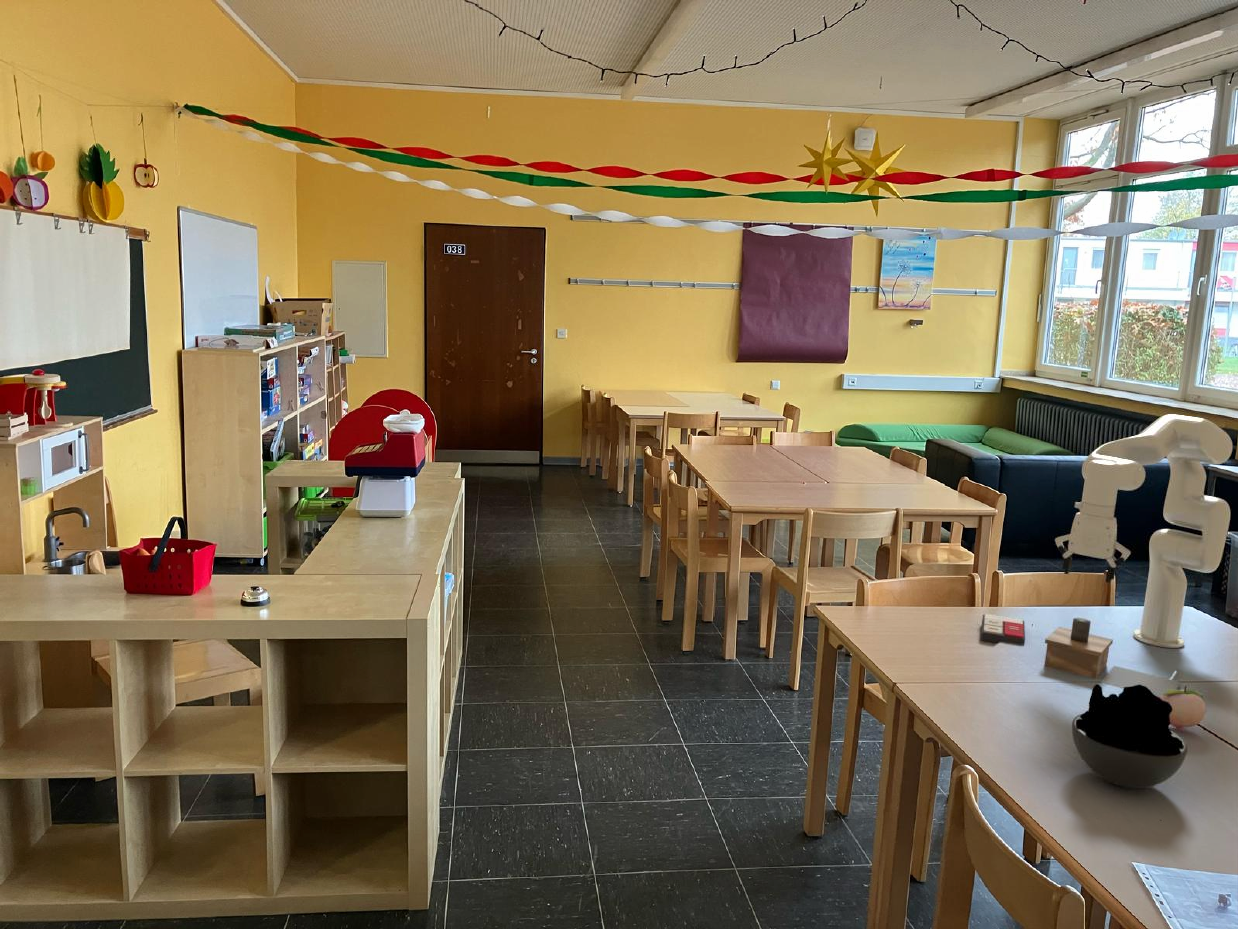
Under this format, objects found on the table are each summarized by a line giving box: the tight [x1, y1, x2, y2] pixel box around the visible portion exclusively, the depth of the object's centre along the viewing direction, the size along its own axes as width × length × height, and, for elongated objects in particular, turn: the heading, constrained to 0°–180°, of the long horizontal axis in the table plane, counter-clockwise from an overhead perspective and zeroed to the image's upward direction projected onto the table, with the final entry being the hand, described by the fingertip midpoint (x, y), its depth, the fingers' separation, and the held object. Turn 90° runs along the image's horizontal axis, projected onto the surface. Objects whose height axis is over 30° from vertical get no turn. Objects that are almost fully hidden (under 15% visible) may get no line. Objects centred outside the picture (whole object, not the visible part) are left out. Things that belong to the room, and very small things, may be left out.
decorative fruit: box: [1161, 685, 1207, 730], centre depth 219 cm, size 9×8×10 cm
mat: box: [1100, 665, 1181, 698], centre depth 244 cm, size 15×15×1 cm
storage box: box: [1044, 643, 1110, 680], centre depth 253 cm, size 12×12×7 cm
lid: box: [1044, 617, 1114, 657], centre depth 252 cm, size 13×13×7 cm
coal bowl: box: [1071, 683, 1189, 789], centre depth 193 cm, size 20×20×19 cm
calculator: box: [980, 613, 1026, 646], centre depth 275 cm, size 11×4×15 cm
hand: (1087, 577), depth 249 cm, fingers open, 9 cm apart
